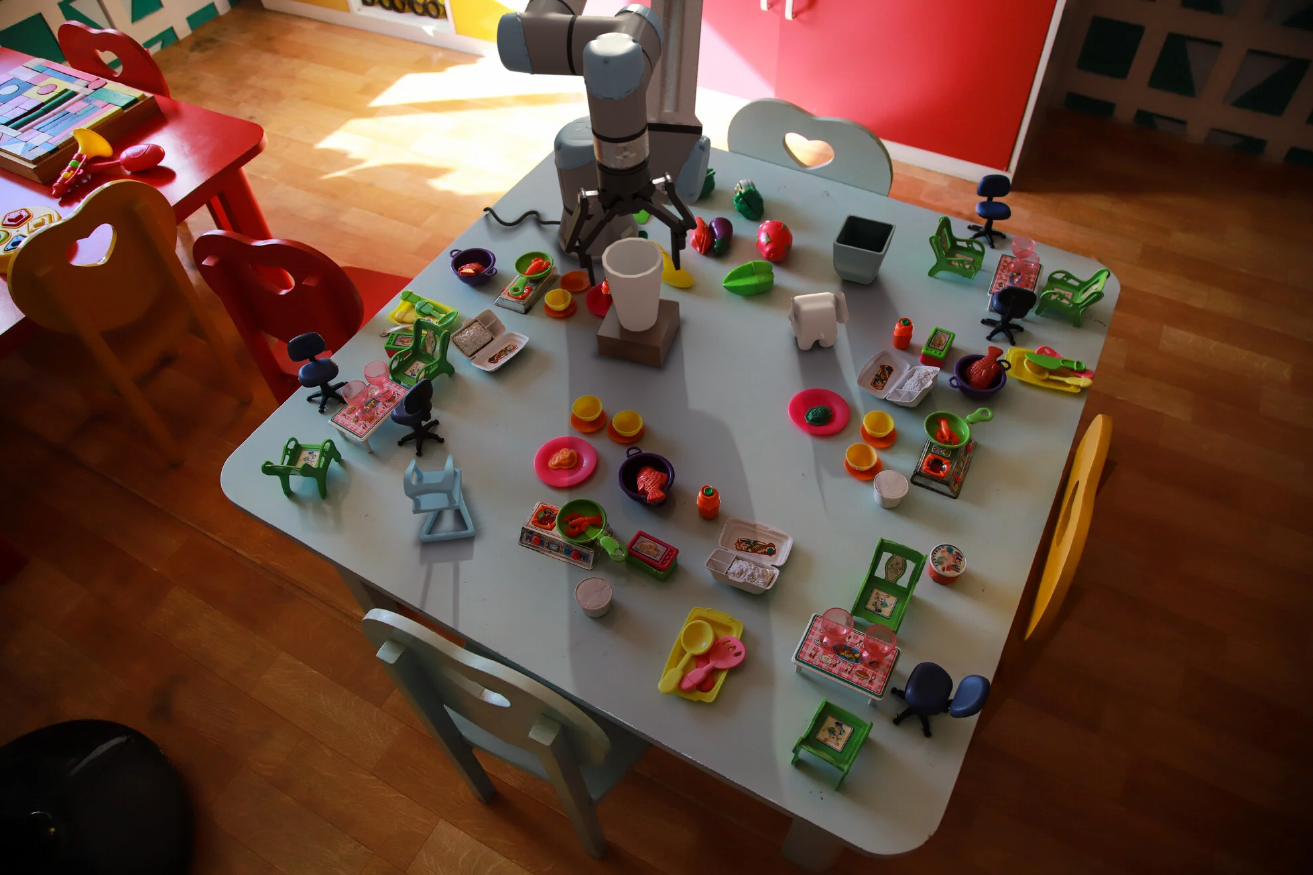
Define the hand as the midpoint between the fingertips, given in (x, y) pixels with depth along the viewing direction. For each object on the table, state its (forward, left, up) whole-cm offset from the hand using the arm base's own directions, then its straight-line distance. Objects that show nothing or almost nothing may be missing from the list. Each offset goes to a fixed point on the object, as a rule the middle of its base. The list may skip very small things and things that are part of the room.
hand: (634, 273), depth 129 cm
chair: (-16, -42, -15) cm, 47 cm away
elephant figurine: (+28, +8, -15) cm, 33 cm away
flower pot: (+33, +25, -15) cm, 44 cm away
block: (0, 0, -15) cm, 15 cm away
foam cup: (0, 0, -10) cm, 10 cm away
